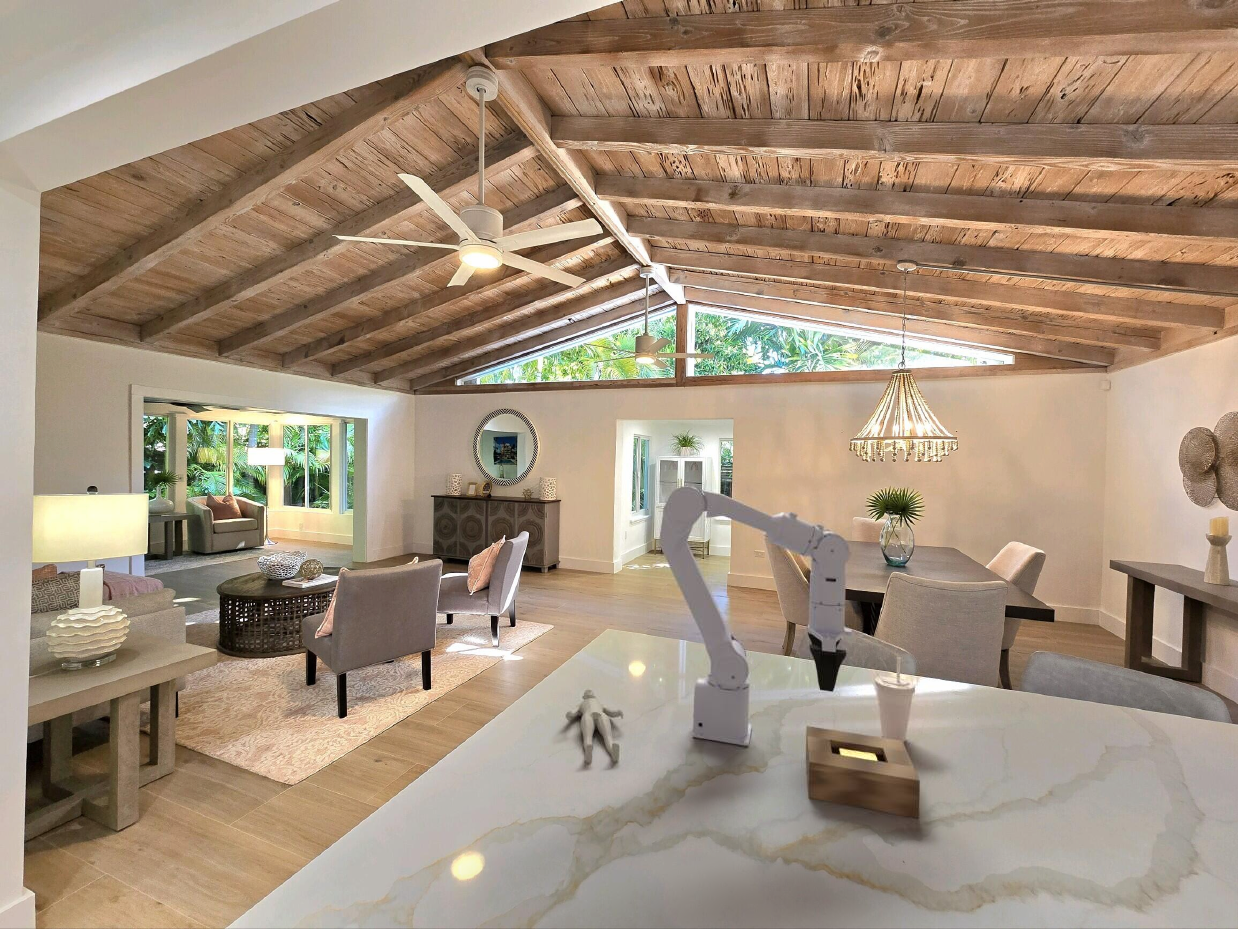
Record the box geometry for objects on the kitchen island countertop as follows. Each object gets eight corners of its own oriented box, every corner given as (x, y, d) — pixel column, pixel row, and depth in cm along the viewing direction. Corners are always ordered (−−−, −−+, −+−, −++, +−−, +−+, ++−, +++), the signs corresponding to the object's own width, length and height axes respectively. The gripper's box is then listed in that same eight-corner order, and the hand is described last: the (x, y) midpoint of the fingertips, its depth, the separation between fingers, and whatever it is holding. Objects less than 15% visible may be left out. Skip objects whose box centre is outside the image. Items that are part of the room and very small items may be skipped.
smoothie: (919, 748, 94) (921, 665, 95) (878, 743, 96) (880, 661, 96) (907, 731, 101) (909, 653, 101) (869, 727, 102) (871, 650, 102)
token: (840, 787, 82) (840, 756, 82) (838, 778, 84) (839, 748, 84) (877, 793, 80) (878, 762, 80) (874, 784, 83) (875, 753, 83)
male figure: (570, 740, 86) (562, 686, 108) (569, 765, 86) (561, 706, 107) (634, 737, 87) (614, 684, 109) (634, 762, 87) (613, 704, 109)
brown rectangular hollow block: (808, 797, 79) (809, 761, 79) (805, 757, 90) (806, 726, 90) (918, 818, 75) (919, 780, 75) (901, 773, 86) (902, 740, 86)
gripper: (857, 614, 87) (855, 701, 87) (847, 595, 101) (845, 671, 101) (809, 609, 89) (807, 695, 89) (806, 592, 103) (804, 666, 103)
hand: (824, 682), depth 95 cm, fingers open, 7 cm apart
